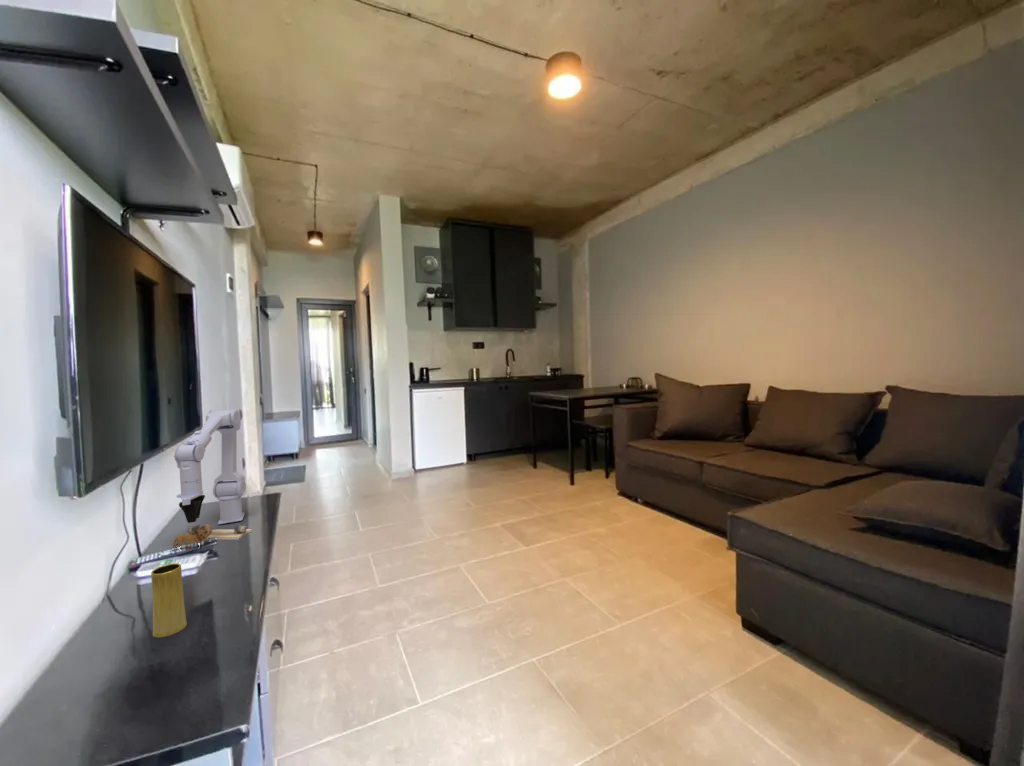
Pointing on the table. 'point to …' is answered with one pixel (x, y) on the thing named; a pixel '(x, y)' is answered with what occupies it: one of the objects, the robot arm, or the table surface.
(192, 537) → the lion figurine
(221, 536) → the shaft rig
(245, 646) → the table surface
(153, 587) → the vase
